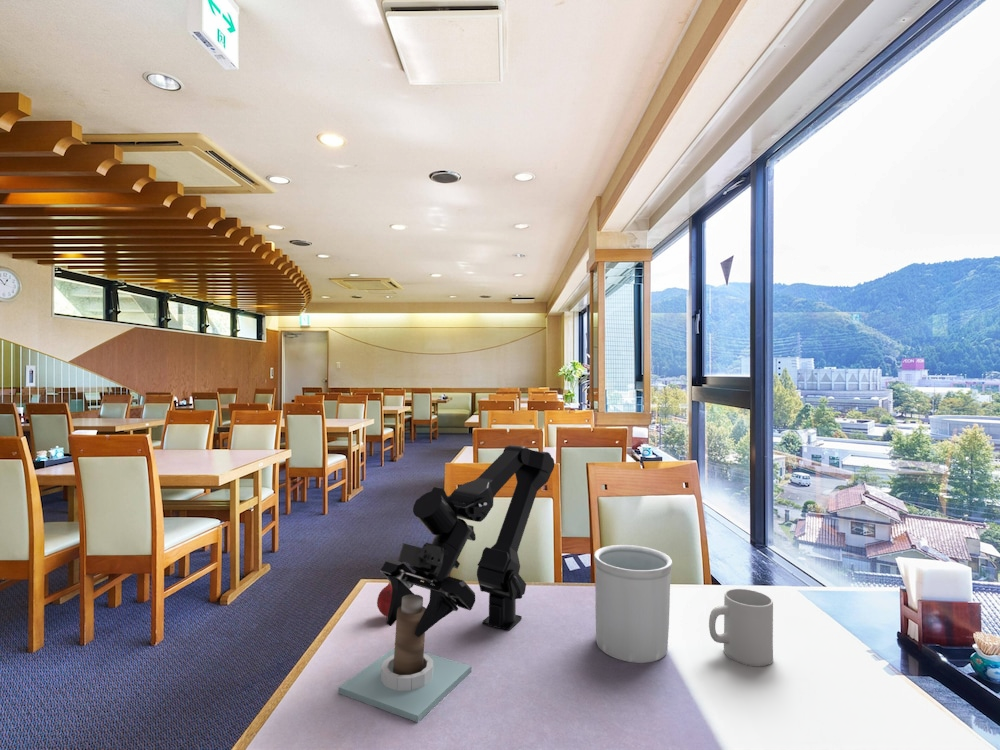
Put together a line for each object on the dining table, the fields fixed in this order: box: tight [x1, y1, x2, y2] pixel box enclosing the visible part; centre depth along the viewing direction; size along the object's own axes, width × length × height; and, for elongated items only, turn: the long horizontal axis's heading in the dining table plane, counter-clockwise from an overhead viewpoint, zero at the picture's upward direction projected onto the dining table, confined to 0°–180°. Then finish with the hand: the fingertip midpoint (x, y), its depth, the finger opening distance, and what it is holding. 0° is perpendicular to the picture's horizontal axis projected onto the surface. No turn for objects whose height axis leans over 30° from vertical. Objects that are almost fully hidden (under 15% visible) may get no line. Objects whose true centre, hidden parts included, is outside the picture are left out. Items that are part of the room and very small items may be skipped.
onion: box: [376, 581, 392, 618], centre depth 116 cm, size 6×6×8 cm
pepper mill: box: [393, 593, 427, 675], centre depth 92 cm, size 5×5×13 cm
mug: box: [708, 588, 774, 667], centre depth 102 cm, size 12×8×11 cm
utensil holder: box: [593, 544, 673, 664], centre depth 105 cm, size 15×15×18 cm
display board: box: [337, 647, 472, 723], centre depth 92 cm, size 16×16×3 cm
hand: (402, 630), depth 91 cm, fingers open, 6 cm apart
